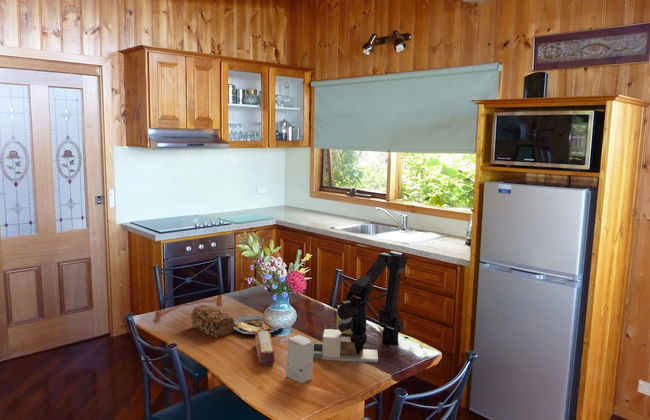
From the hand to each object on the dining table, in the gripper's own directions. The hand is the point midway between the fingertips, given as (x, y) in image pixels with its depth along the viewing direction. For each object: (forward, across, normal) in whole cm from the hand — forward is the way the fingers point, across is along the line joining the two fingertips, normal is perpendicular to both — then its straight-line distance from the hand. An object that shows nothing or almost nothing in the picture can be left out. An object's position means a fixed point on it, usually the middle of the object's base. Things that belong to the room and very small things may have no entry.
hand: (357, 350), depth 217 cm
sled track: (+2, 0, -5) cm, 6 cm away
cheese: (+2, -28, -5) cm, 29 cm away
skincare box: (+2, +22, -21) cm, 31 cm away
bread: (+3, -19, -65) cm, 68 cm away
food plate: (+3, -25, -46) cm, 52 cm away
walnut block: (+1, 0, -5) cm, 5 cm away
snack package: (+3, +4, -37) cm, 37 cm away
